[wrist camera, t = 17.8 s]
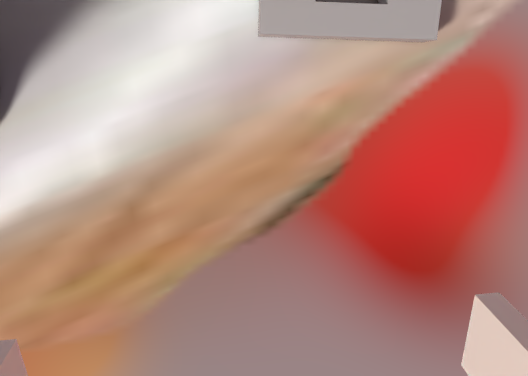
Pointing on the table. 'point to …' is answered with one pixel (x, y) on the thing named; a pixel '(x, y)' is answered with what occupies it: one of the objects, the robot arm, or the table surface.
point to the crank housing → (351, 20)
